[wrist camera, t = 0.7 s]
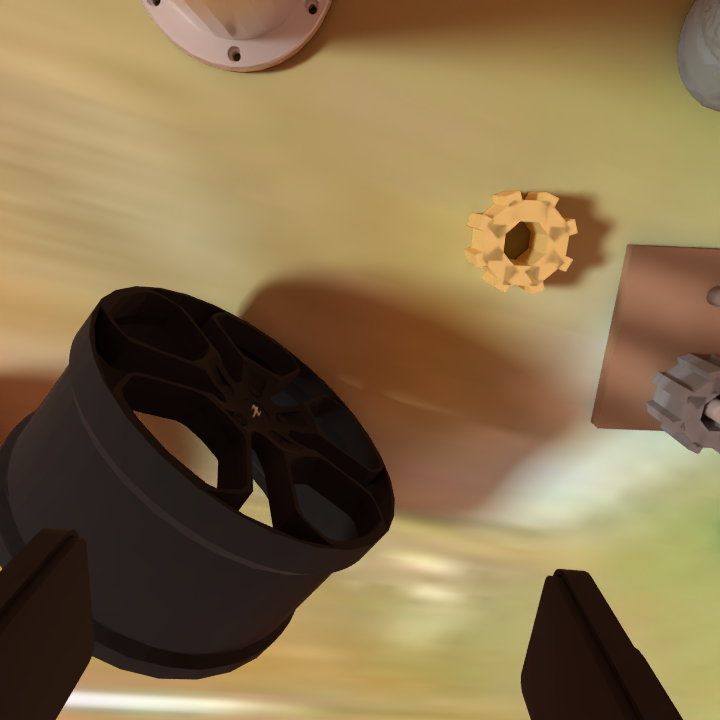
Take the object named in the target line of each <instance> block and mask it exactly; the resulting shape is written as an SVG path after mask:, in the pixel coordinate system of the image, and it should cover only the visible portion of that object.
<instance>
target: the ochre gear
mask: <svg viewBox="0 0 720 720" xmlns="http://www.w3.org/2000/svg"><path fill="white" fill-rule="evenodd" d="M492 199H493V202H494V204H493V205H492V206H491V207H490V208H489V209H488V210H486V211H485V212H484V213H483V214H482V215H481V214H475V213H472V215H471V217H470V219H469V221H468V223H467V226H470V227H472V228H473V237H472V246H471V247H469V248H466V249H464V251H465V255H466V258H467V261H468V262H469V263H471V264H473V265H474V266H476V267H477V268H481V267H482V268H483V269H484V270H485V271H486V272H485V274H484V275H483V277H482V279H483V280H485V281H486V282H488V283H489V284H491V285H492V286H493V287H495V288H497V289H499V290H501V291H503V292H505V293H506V292H507V291H508V289H509V287H510V285H517V286H519V287H520V288H522V289H524V290H526V291H527V292H529V293H531V294H533V293H536V292H538V291H541V290H544V285H543V281H544V280H545V279H546V278H547V277H549V276H550V275H551V274H552V273H553V272H555V271H556V270H557V269H559V270H562V271H564V272H566V271H567V269H568V267H569V266H570V264H571V262H572V260H573V259H571V258H569V257H567V256H566V251H567V245H568V239H569V236H570V235H573V234H576V233H578V232H577V227H576V223H575V219H569V218H562V216H561V215H560V214H559V212H558V211H557V210H556V209H555V205H556V203H557V202H558V200H559V198H557V197H555V196H553V195H551V194H549V193H548V192H528V194H527V196H526V198H525V200H522V196H521V192H520V191H503V192H501V193H498V194H495V195H493V196H492ZM520 221H523V223H524V224H525V225H526V226H527V228H528V229H529V230H530V232H531V233H530V240H529V247H528V249H527V250H526V251H525V252H523V253H522V254H521V255H520V256H519V257H518V258H516V259H508V257H507V256H506V255H505V254H504V253H503V251H504V243H505V235H506V233H507V232H508V231H510V230H511V229H512V228H513V227H514V226H515V225H517V224H518V223H519V222H520Z"/></svg>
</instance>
